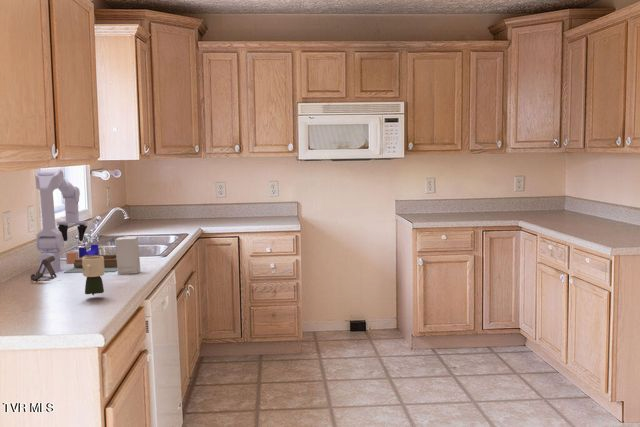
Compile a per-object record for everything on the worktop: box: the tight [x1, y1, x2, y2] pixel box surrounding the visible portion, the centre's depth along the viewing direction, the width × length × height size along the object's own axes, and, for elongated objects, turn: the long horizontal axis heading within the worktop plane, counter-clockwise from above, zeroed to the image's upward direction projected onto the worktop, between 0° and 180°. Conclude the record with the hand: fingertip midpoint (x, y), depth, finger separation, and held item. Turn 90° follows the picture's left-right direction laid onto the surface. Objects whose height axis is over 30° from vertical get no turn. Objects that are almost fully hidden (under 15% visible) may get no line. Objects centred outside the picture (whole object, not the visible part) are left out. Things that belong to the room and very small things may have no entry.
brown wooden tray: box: [73, 254, 117, 268], centre depth 272 cm, size 14×20×3 cm
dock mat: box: [63, 266, 118, 274], centre depth 264 cm, size 16×21×1 cm
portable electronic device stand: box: [30, 256, 58, 282], centre depth 244 cm, size 9×8×8 cm
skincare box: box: [114, 236, 141, 275], centre depth 253 cm, size 8×6×15 cm
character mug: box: [82, 256, 105, 296], centre depth 212 cm, size 11×7×13 cm, turn 0°
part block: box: [65, 251, 79, 265], centre depth 281 cm, size 4×4×5 cm
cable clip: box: [78, 244, 100, 258], centre depth 295 cm, size 12×4×6 cm, turn 169°
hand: (73, 240), depth 287 cm, fingers open, 7 cm apart
